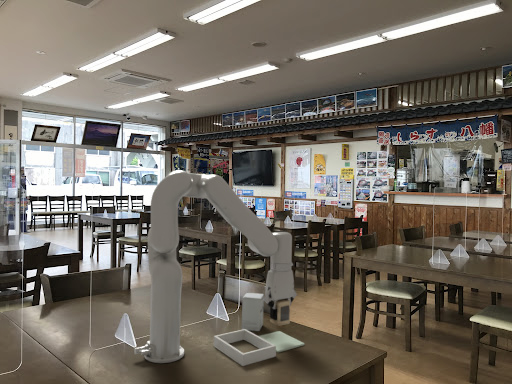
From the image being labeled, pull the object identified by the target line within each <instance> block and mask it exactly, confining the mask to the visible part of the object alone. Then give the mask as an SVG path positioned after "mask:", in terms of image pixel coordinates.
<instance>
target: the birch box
mask: <svg viewBox="0 0 512 384" xmlns="http://www.w3.org/2000/svg"><path fill="white" fill-rule="evenodd" d="M273 303H274V301H273ZM276 309H277V320H274V319H271V318H270V317H269V323H272V324H274V325H276V326H279V327H280V326H283V325H284V326H285V325H289V324H291V323H290V322H291V306H290V301H289V300H287V299H282V300H278V301H277V306H276Z"/></svg>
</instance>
